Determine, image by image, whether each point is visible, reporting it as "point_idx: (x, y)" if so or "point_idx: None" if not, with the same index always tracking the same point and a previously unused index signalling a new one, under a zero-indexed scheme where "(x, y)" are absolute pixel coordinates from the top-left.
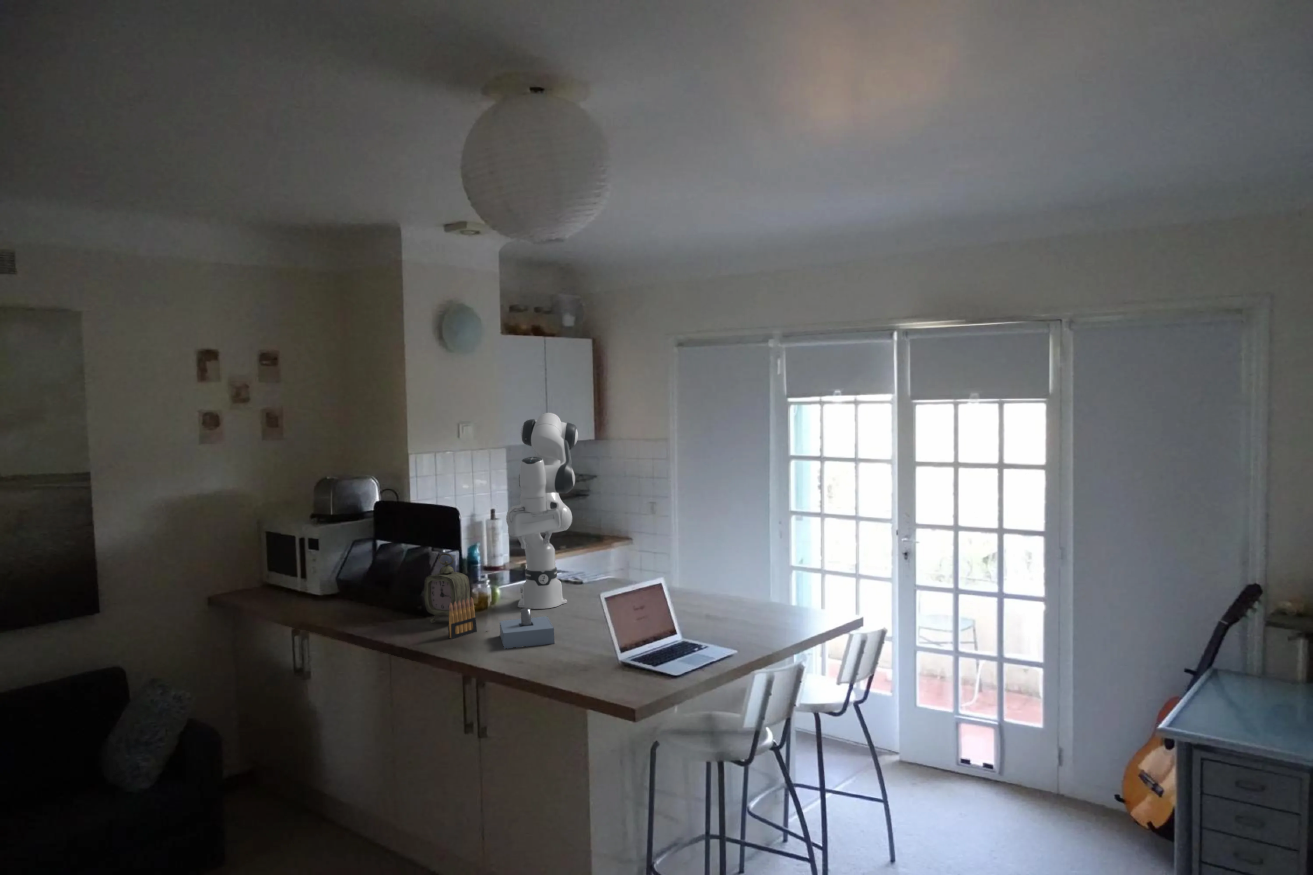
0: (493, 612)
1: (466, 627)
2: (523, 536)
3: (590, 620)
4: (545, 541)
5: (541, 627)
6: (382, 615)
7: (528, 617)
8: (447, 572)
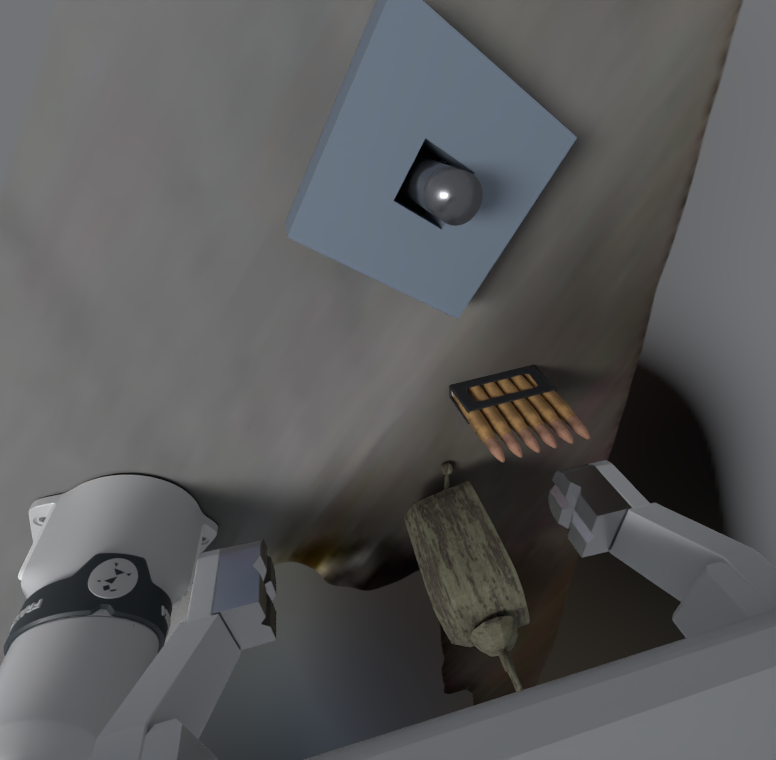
0: (302, 517)
1: (493, 388)
2: (759, 594)
3: (29, 219)
4: (262, 581)
5: (428, 62)
6: None
7: (449, 166)
8: (506, 618)
